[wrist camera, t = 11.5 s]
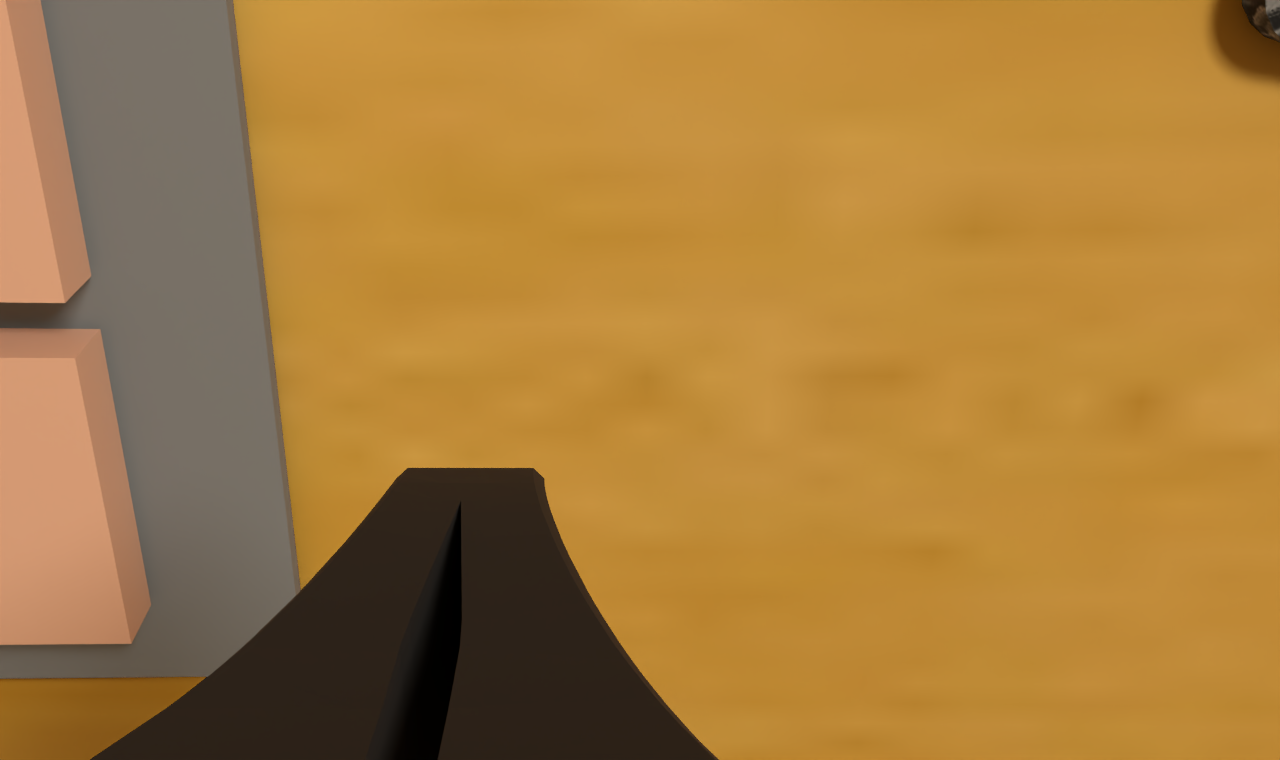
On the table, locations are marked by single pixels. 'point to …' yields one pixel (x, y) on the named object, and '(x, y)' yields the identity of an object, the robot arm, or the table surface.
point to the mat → (173, 327)
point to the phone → (1264, 16)
